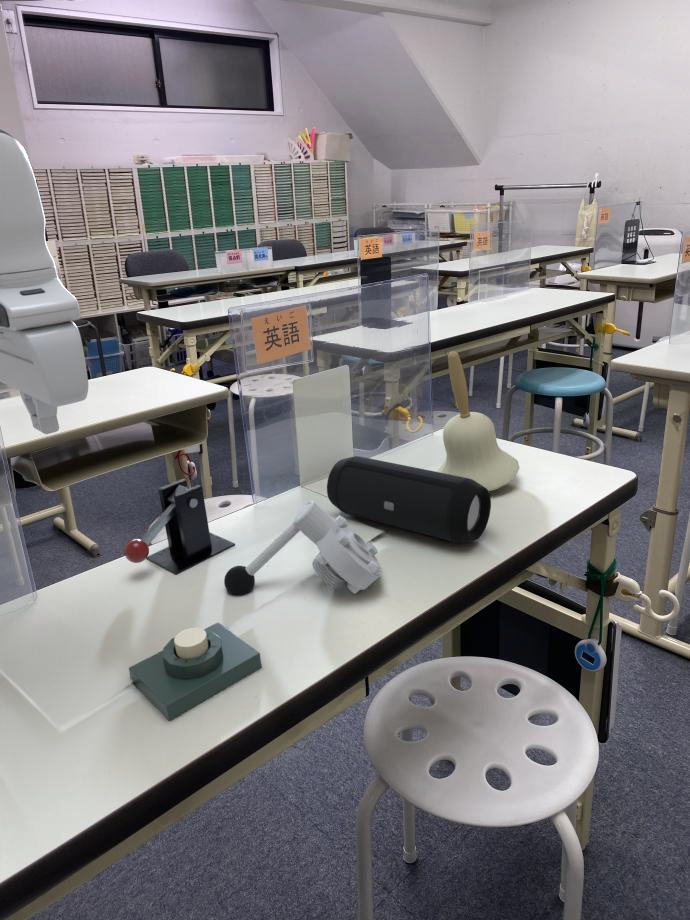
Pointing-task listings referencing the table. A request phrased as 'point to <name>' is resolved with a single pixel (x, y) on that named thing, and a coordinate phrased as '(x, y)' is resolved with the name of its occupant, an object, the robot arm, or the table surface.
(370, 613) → the table surface
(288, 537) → the mechanical valve
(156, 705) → the control block
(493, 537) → the table surface
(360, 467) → the portable speaker
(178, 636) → the button
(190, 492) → the bracket
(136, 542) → the lever
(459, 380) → the handbell
